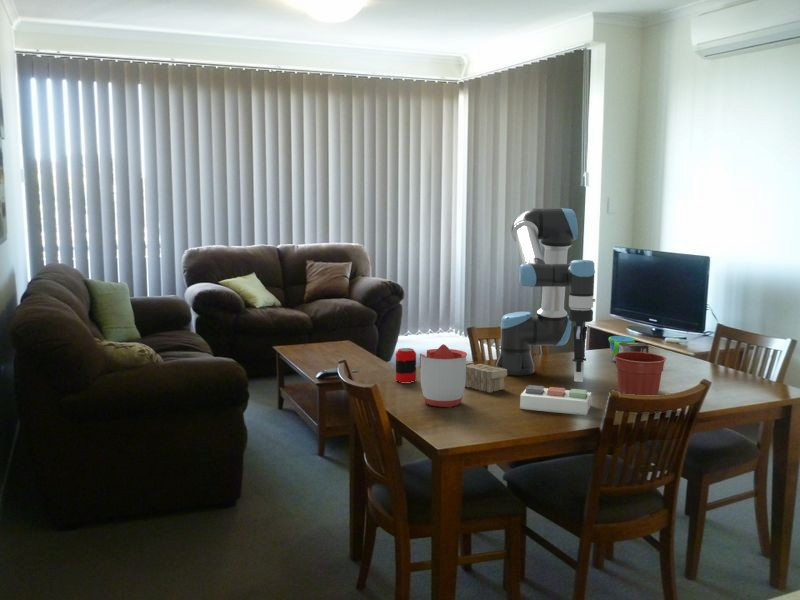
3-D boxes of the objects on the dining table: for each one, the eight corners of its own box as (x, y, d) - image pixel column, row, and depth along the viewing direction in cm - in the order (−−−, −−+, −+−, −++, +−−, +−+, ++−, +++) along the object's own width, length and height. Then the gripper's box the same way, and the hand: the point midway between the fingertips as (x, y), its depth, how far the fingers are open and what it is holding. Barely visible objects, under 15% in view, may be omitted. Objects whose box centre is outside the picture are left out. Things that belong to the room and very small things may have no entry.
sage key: (568, 401, 241) (569, 392, 240) (571, 397, 245) (571, 388, 245) (584, 403, 239) (585, 393, 238) (586, 399, 244) (586, 390, 243)
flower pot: (672, 403, 249) (675, 356, 247) (649, 413, 238) (651, 364, 236) (627, 394, 261) (629, 349, 259) (602, 403, 249) (604, 356, 247)
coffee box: (642, 385, 274) (644, 342, 272) (647, 389, 267) (649, 345, 265) (617, 385, 274) (619, 342, 272) (621, 389, 268) (623, 345, 266)
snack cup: (625, 366, 304) (626, 342, 302) (601, 363, 310) (602, 339, 309) (640, 360, 316) (641, 336, 315) (616, 357, 322) (617, 334, 321)
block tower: (435, 381, 284) (492, 394, 262) (435, 359, 283) (491, 370, 261) (450, 378, 289) (507, 390, 267) (450, 356, 288) (507, 367, 266)
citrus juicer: (426, 394, 261) (426, 337, 258) (473, 400, 253) (473, 342, 251) (407, 405, 247) (407, 345, 244) (456, 411, 239) (457, 350, 237)
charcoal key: (525, 397, 245) (525, 388, 245) (528, 393, 250) (528, 385, 250) (540, 398, 244) (541, 389, 243) (543, 395, 248) (543, 386, 248)
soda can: (420, 380, 280) (420, 349, 278) (406, 384, 274) (406, 352, 273) (405, 377, 285) (405, 346, 283) (391, 381, 279) (391, 349, 278)
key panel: (520, 408, 243) (520, 395, 242) (527, 399, 254) (527, 386, 254) (586, 415, 236) (587, 401, 235) (590, 405, 247) (591, 392, 246)
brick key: (547, 399, 243) (547, 390, 243) (549, 395, 248) (549, 386, 247) (562, 400, 241) (562, 391, 241) (564, 397, 246) (565, 388, 246)
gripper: (590, 311, 231) (588, 386, 234) (595, 306, 243) (592, 377, 246) (566, 310, 233) (563, 384, 236) (571, 305, 245) (569, 375, 248)
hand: (578, 381), depth 241 cm, fingers closed
